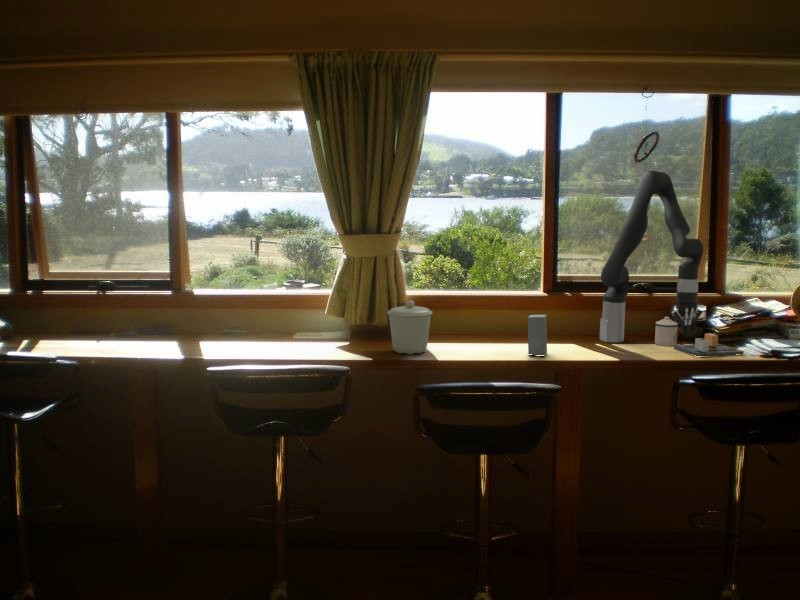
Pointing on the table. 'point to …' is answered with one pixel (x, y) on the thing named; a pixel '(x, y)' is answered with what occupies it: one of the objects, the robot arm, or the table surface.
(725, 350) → the console
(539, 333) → the skincare box
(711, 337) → the fader orange
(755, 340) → the table surface
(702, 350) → the fader silver
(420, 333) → the canister
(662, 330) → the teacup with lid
